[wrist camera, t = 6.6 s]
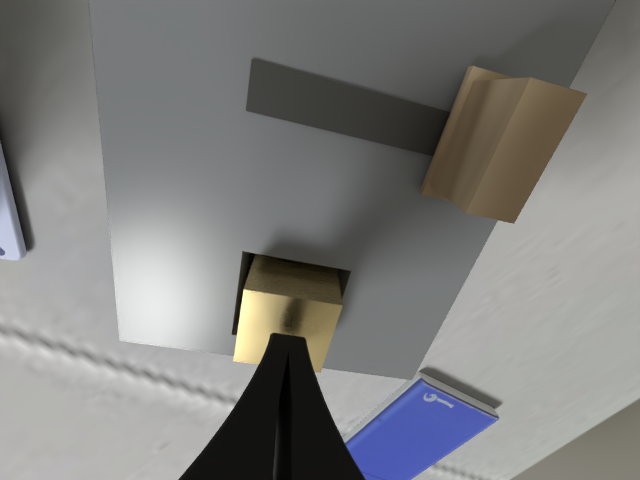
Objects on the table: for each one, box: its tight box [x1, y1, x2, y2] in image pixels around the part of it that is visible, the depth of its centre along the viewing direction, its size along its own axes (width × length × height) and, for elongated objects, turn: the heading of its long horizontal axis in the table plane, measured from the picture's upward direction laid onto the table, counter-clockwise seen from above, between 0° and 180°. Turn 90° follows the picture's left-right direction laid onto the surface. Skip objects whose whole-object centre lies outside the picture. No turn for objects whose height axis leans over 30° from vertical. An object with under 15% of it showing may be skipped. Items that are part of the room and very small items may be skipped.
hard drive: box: [342, 371, 499, 480], centre depth 24 cm, size 2×8×12 cm
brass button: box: [233, 254, 343, 373], centre depth 14 cm, size 4×4×3 cm
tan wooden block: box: [419, 66, 587, 224], centre depth 9 cm, size 2×4×3 cm, turn 167°
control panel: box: [88, 0, 616, 380], centre depth 12 cm, size 16×26×3 cm, turn 167°
